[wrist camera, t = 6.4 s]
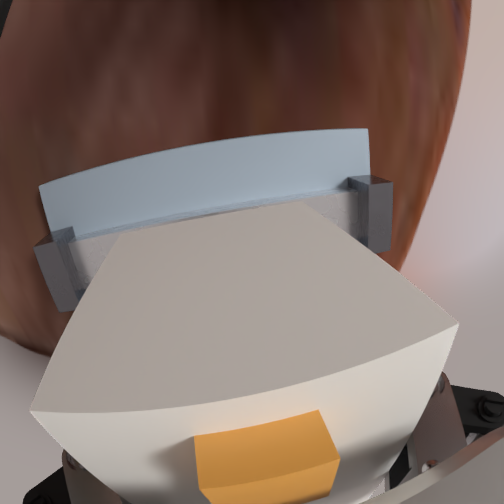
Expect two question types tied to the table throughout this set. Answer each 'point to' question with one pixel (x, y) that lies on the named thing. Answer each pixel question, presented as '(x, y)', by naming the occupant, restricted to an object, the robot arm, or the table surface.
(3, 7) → the green creature figurine
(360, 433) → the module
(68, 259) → the rail
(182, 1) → the table surface
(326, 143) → the board
